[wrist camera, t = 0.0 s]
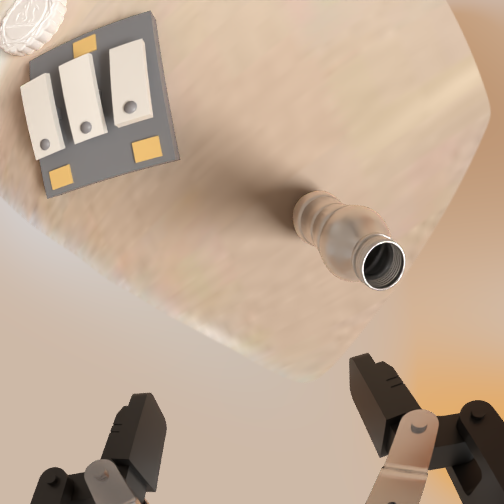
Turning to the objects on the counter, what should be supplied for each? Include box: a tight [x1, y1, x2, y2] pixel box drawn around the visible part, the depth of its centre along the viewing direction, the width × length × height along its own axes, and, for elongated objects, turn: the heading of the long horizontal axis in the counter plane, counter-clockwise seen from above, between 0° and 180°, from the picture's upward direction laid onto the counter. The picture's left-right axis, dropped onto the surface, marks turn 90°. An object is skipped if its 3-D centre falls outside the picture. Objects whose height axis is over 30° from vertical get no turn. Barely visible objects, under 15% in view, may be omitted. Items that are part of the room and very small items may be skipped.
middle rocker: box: [59, 53, 108, 144], centre depth 28 cm, size 10×4×1 cm, turn 11°
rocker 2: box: [109, 39, 153, 128], centre depth 28 cm, size 10×4×1 cm, turn 11°
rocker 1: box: [20, 73, 65, 160], centre depth 28 cm, size 10×4×1 cm, turn 11°
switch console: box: [30, 11, 180, 199], centre depth 31 cm, size 20×18×4 cm
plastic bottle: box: [293, 191, 405, 291], centre depth 30 cm, size 6×7×20 cm
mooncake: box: [0, 0, 67, 57], centre depth 26 cm, size 12×12×4 cm
